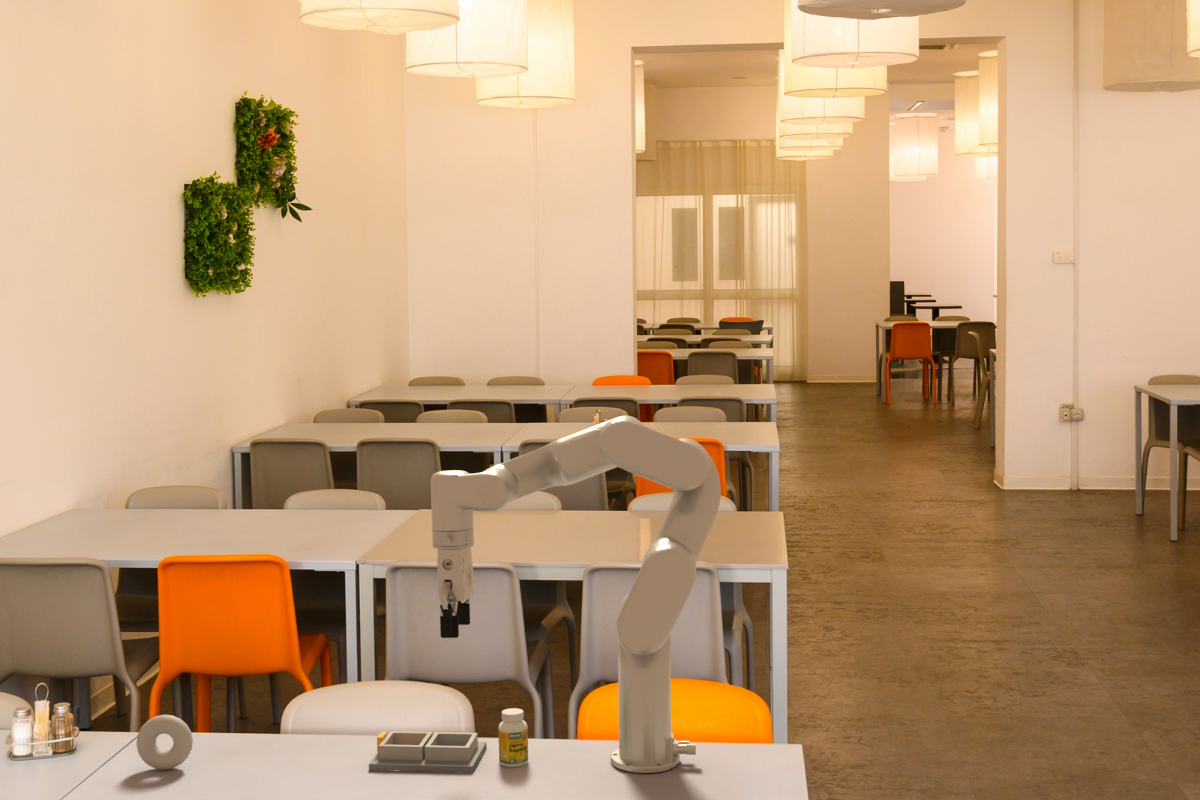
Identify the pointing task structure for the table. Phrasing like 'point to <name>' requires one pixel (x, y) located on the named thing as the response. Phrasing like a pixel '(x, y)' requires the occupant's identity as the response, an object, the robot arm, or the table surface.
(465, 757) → the compartment tray
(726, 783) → the table surface
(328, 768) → the table surface
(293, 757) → the table surface
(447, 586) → the robot arm
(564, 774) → the table surface
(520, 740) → the supplement bottle
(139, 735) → the donut
